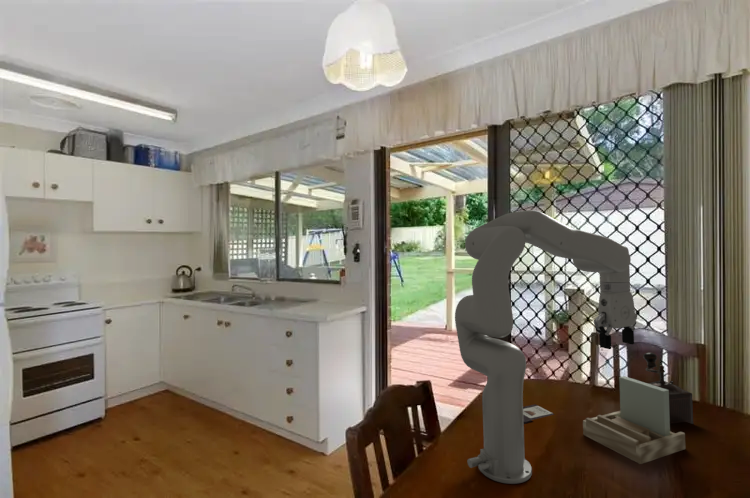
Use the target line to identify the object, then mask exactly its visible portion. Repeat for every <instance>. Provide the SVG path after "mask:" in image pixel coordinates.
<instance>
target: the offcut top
mask: <svg viewBox="0 0 750 498" xmlns="http://www.w3.org/2000/svg"><path fill="white" fill-rule="evenodd" d="M612 420H613V421H615V422H617V423H620V424H622V425H624V426H626V427H629V428H631V429H633V430H636V431H638V432H640V433H642V434H645V435H647V436H649V429H647V428H645V427H642V426H639V425H637V424H634V423H632V422H629V421H627V420H624V419H622V418H619V417H618V418H615V419H612Z"/></svg>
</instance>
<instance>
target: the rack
mask: <svg viewBox="0 0 750 498" xmlns="http://www.w3.org/2000/svg"><path fill="white" fill-rule="evenodd" d="M618 417H619V418H621V414H620V410H618V411H613V412H610V413H607V414H606V413H605V414H603V415H601V414H598V415H597V416H595V417H585V419H583V420H582V431H583V433H582V434H583V436H585V437H587V438H589V439H591V440H593V441H595V442H597V443H598V444H600V445H602V446H604V447H606V448H609V449H610V450H613V452H616V453H618V454H620V455H622V456H623V457H626V458H627V459H629V460H631V461H633V462H635V463H637V464H639V465H643V464H646V463H648V462H652V461H654V460H657V459H661V458H664V457H665V456H666V457H667V456H669V455H672V454H676V453H678V452H680V451H683V450H686V433H685V432H683V431H678V432H676V433H675V432H674V431H673V432H672V431H671V430H670V435H669V436H663V435H660V434H658V433H656V432H653V431H651V430H649V436H647V435H645V434H642V433H640V432H638V431H636V430H633V429H631V428H629V427H626V426H624V425H622V424H620V423H617V422H615V421H613V420H612V419H615V418H618ZM622 419H623V418H622ZM624 420H625V419H624ZM629 422H630V421H629ZM651 438H652V439H655V440H653V441H651Z"/></svg>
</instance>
